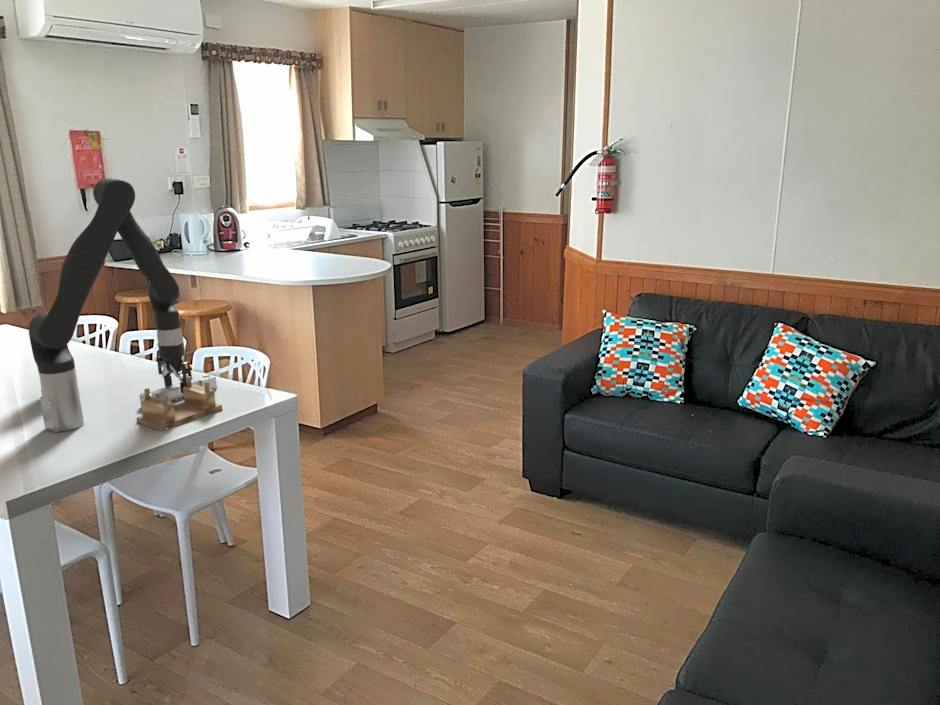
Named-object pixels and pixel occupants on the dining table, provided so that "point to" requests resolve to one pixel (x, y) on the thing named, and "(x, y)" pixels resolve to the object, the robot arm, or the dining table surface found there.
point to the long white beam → (175, 390)
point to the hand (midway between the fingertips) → (177, 390)
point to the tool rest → (178, 407)
